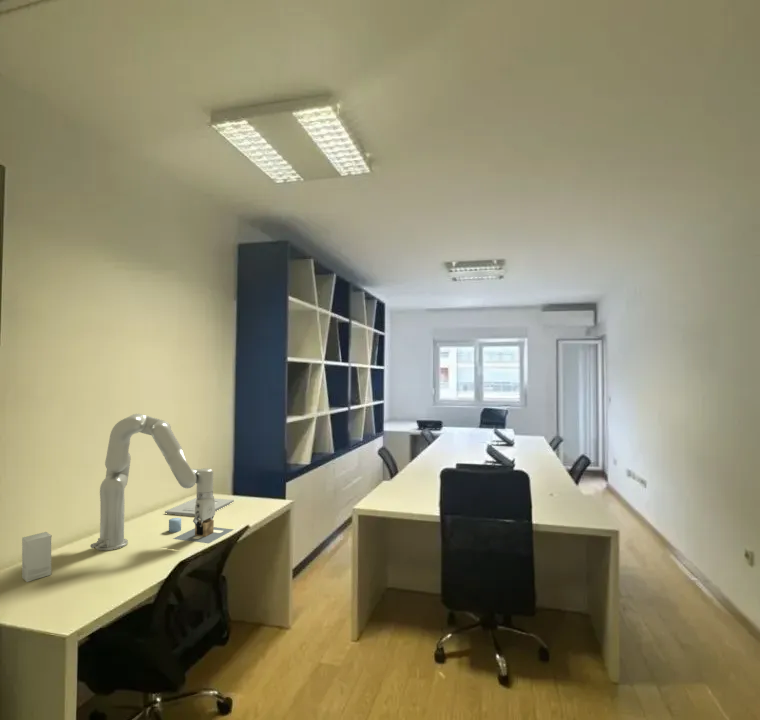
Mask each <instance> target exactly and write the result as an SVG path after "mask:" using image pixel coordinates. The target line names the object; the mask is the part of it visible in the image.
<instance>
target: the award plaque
mask: <svg viewBox="0 0 760 720" xmlns="http://www.w3.org/2000/svg"><path fill="white" fill-rule="evenodd" d="M196 499H197V497H195V498H193V499H190V500H188V501H186V502H184V503H181V504H179V505H177V506H176V505H175V506H174V507H172V508H170V509H167V510H164V514H165V513H167V514H166V515H168V514H175V515H174V516H180V515H183V516H184V517H192V516H195V504H196ZM214 500H215V511H216V512H218V511H220V510H222V509H224V508H226V507H228V506H230V505H231V504H230V503H232V502H234V503H235V500H234V499H224V498H214ZM229 504H230V505H229ZM232 504H233V503H232ZM227 505H228V506H227ZM225 506H226V507H225ZM223 507H224V508H223ZM221 508H222V509H221ZM219 509H220V510H219ZM217 510H218V511H217Z"/></svg>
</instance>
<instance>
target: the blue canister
mask: <svg viewBox="0 0 760 720" xmlns="http://www.w3.org/2000/svg"><path fill="white" fill-rule="evenodd" d="M181 530H182V518H180V517H173V518H170V519H168V533H178V532H181Z"/></svg>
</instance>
